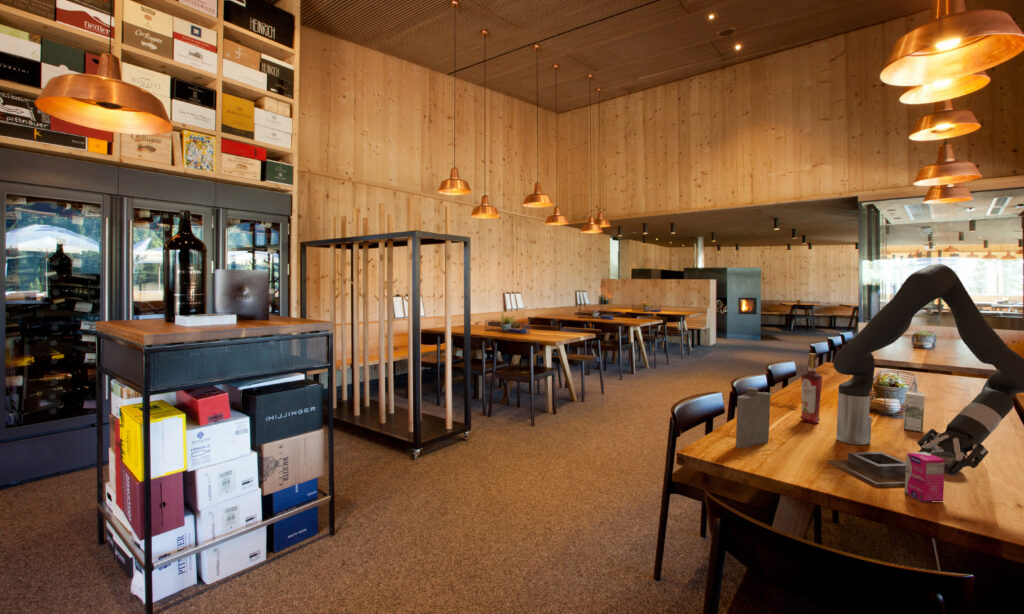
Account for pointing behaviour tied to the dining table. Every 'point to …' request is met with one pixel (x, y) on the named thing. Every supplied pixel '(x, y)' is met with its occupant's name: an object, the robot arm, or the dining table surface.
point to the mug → (944, 456)
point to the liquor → (811, 392)
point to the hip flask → (752, 418)
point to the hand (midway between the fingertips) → (932, 467)
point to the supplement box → (924, 476)
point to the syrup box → (914, 411)
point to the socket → (874, 468)
